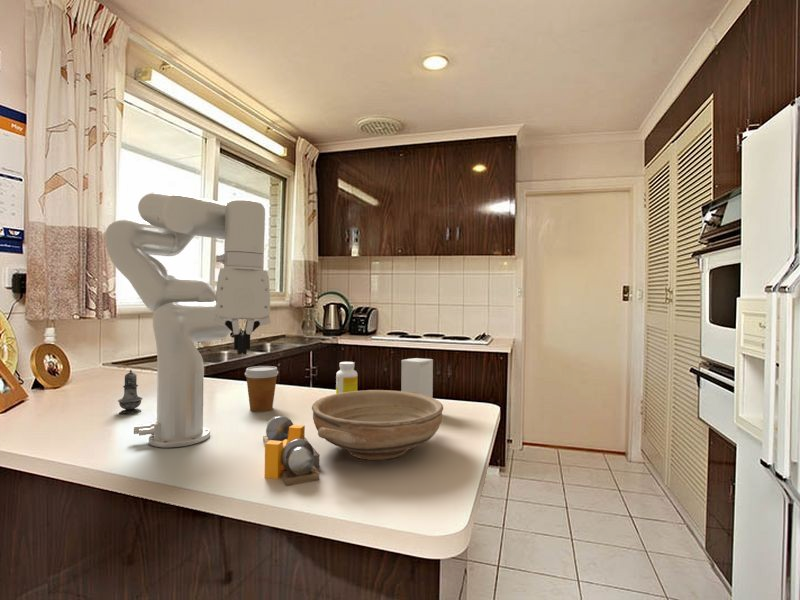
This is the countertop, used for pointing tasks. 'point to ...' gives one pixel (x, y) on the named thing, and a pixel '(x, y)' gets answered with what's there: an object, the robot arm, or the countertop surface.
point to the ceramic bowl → (377, 421)
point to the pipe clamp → (280, 451)
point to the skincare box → (417, 376)
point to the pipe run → (293, 453)
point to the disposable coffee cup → (261, 387)
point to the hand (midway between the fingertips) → (241, 353)
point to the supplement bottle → (346, 378)
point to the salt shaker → (130, 395)
